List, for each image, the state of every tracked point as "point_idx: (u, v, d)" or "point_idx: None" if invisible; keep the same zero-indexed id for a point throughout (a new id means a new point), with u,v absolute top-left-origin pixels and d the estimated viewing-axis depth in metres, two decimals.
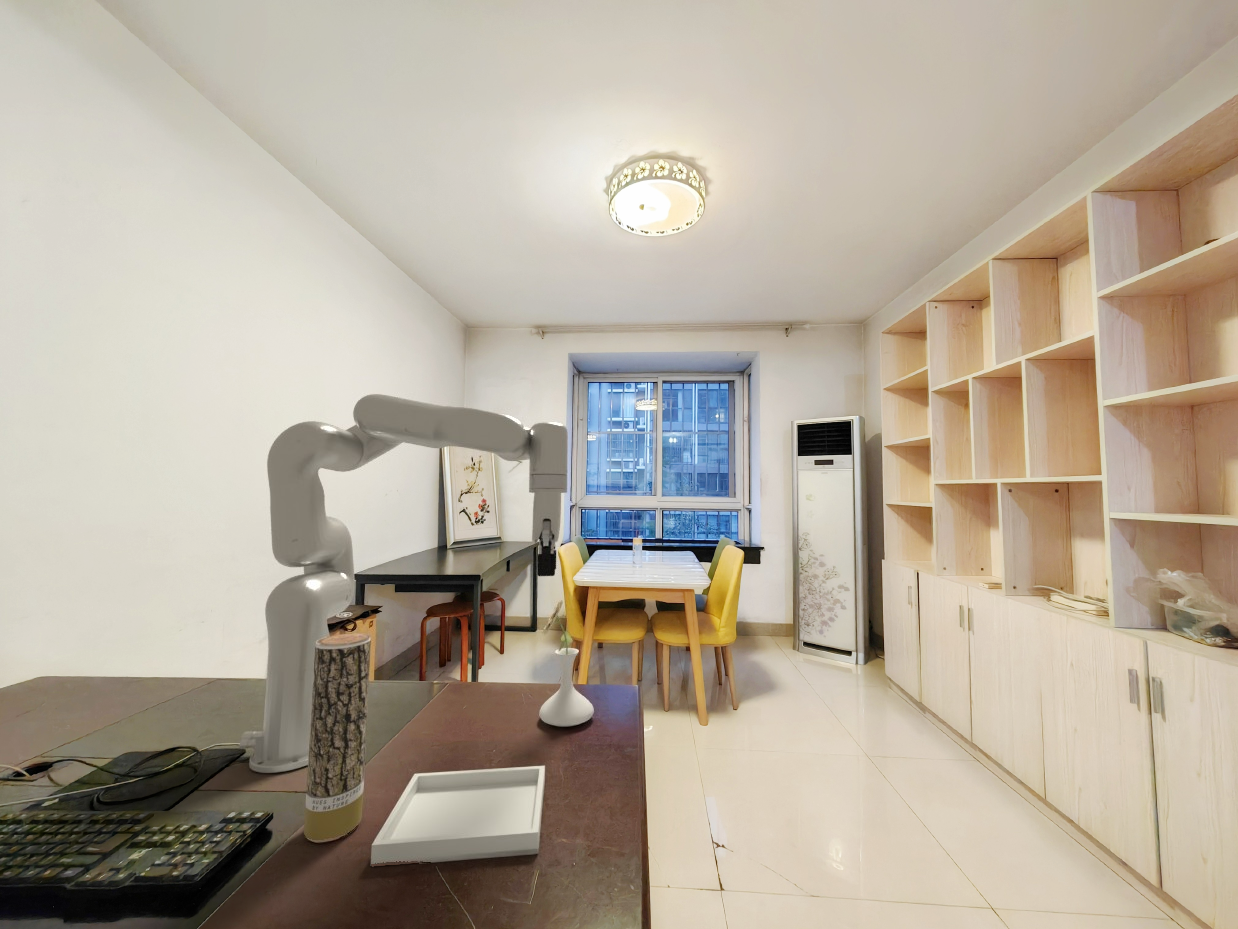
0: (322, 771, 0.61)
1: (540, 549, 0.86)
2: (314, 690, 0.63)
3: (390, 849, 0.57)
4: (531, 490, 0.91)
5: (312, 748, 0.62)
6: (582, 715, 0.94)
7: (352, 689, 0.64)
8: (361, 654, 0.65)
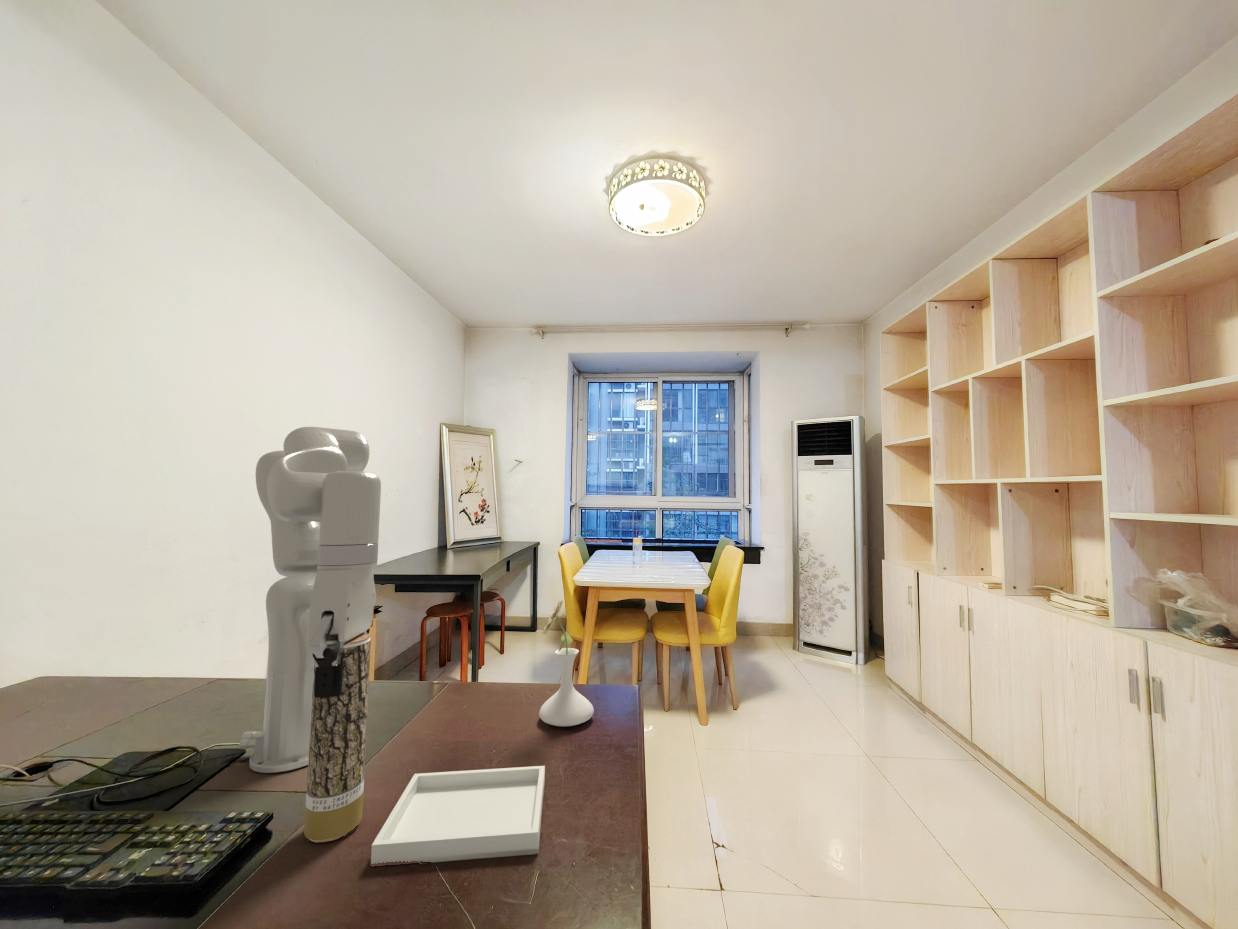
0: (322, 771, 0.61)
1: None
2: None
3: (390, 849, 0.57)
4: (317, 567, 0.65)
5: (312, 748, 0.62)
6: (582, 715, 0.94)
7: (352, 689, 0.64)
8: (361, 654, 0.65)
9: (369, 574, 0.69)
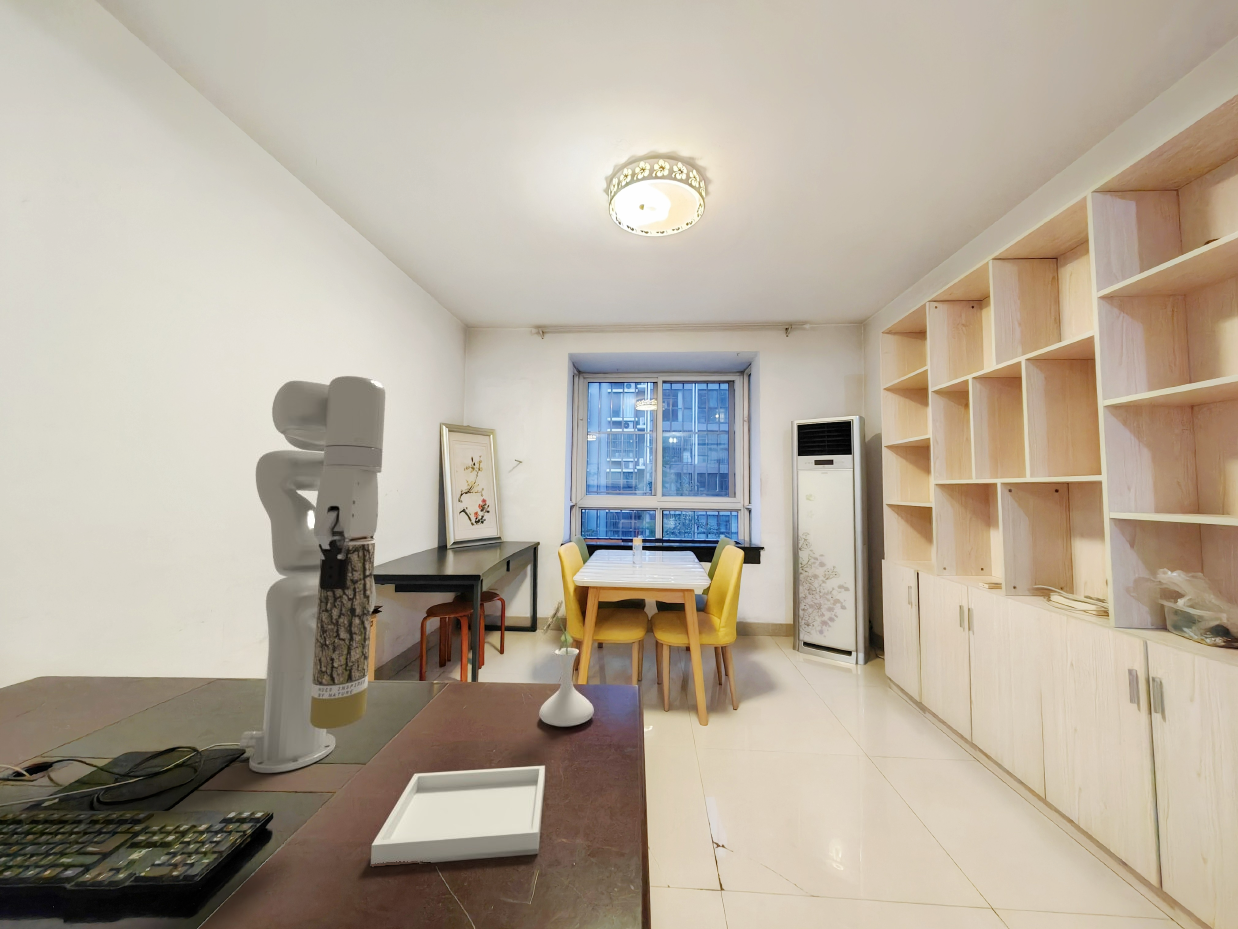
0: (328, 660, 0.63)
1: None
2: None
3: (390, 849, 0.57)
4: (323, 468, 0.67)
5: (318, 639, 0.64)
6: (582, 715, 0.94)
7: (357, 585, 0.66)
8: (365, 553, 0.67)
9: (373, 480, 0.71)
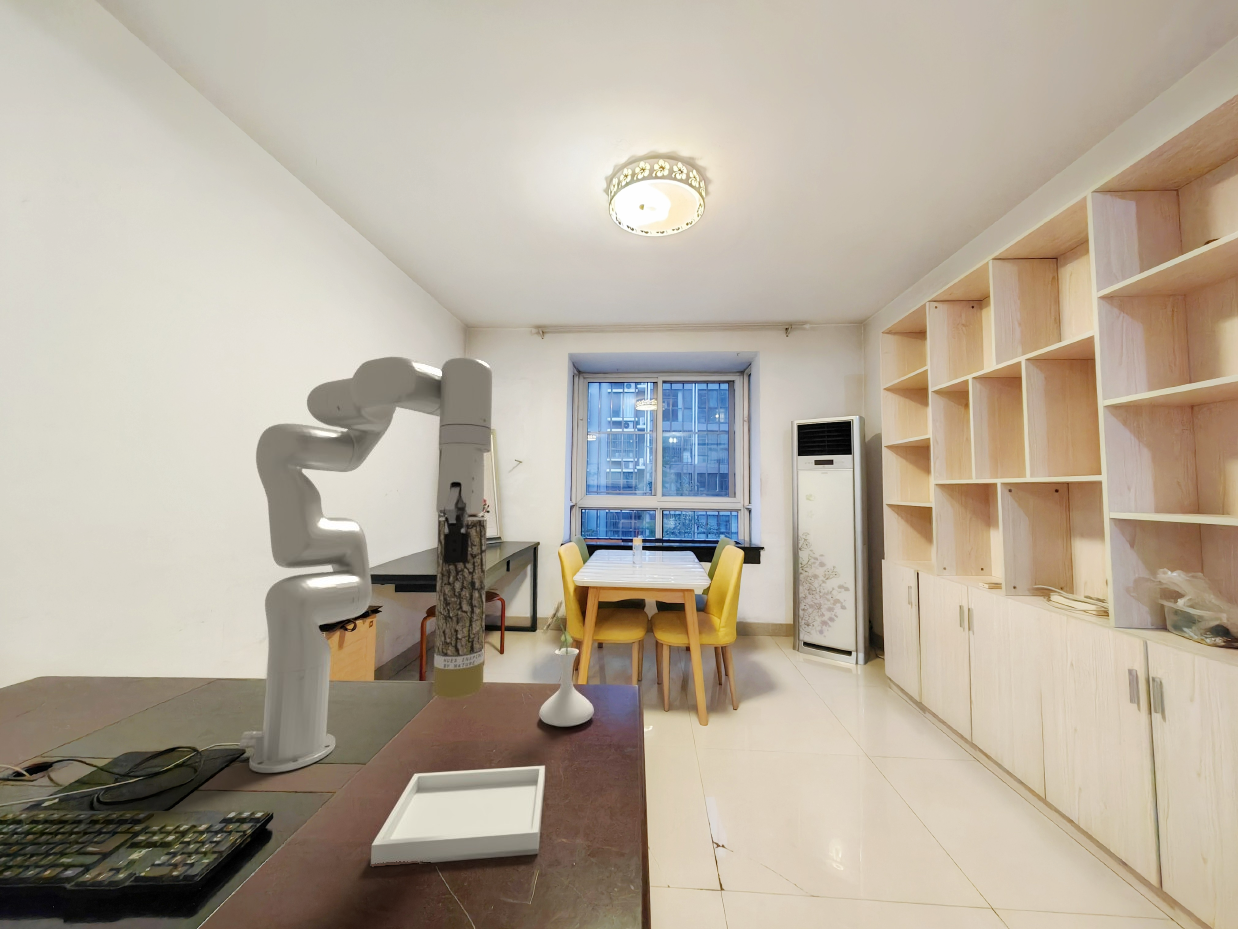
0: (452, 632, 0.65)
1: (447, 527, 0.65)
2: (441, 559, 0.67)
3: (390, 849, 0.57)
4: (440, 446, 0.69)
5: (441, 612, 0.66)
6: (582, 715, 0.94)
7: (476, 560, 0.67)
8: (481, 529, 0.69)
9: (483, 459, 0.73)
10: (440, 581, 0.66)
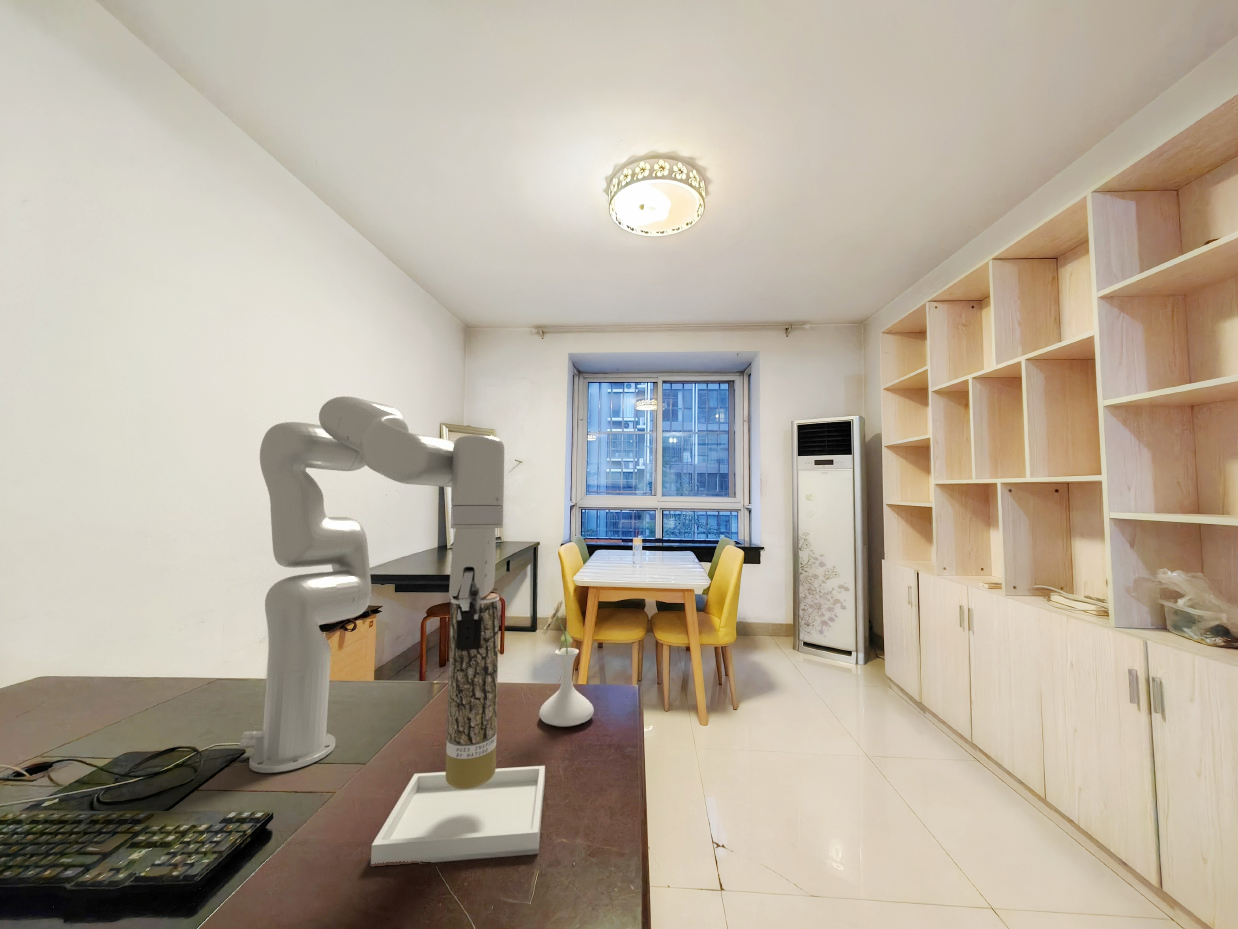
0: (465, 720, 0.64)
1: (460, 614, 0.64)
2: (453, 644, 0.66)
3: (390, 849, 0.57)
4: (452, 526, 0.68)
5: (454, 699, 0.65)
6: (582, 715, 0.94)
7: (489, 643, 0.66)
8: (494, 610, 0.68)
9: None
10: (452, 666, 0.65)
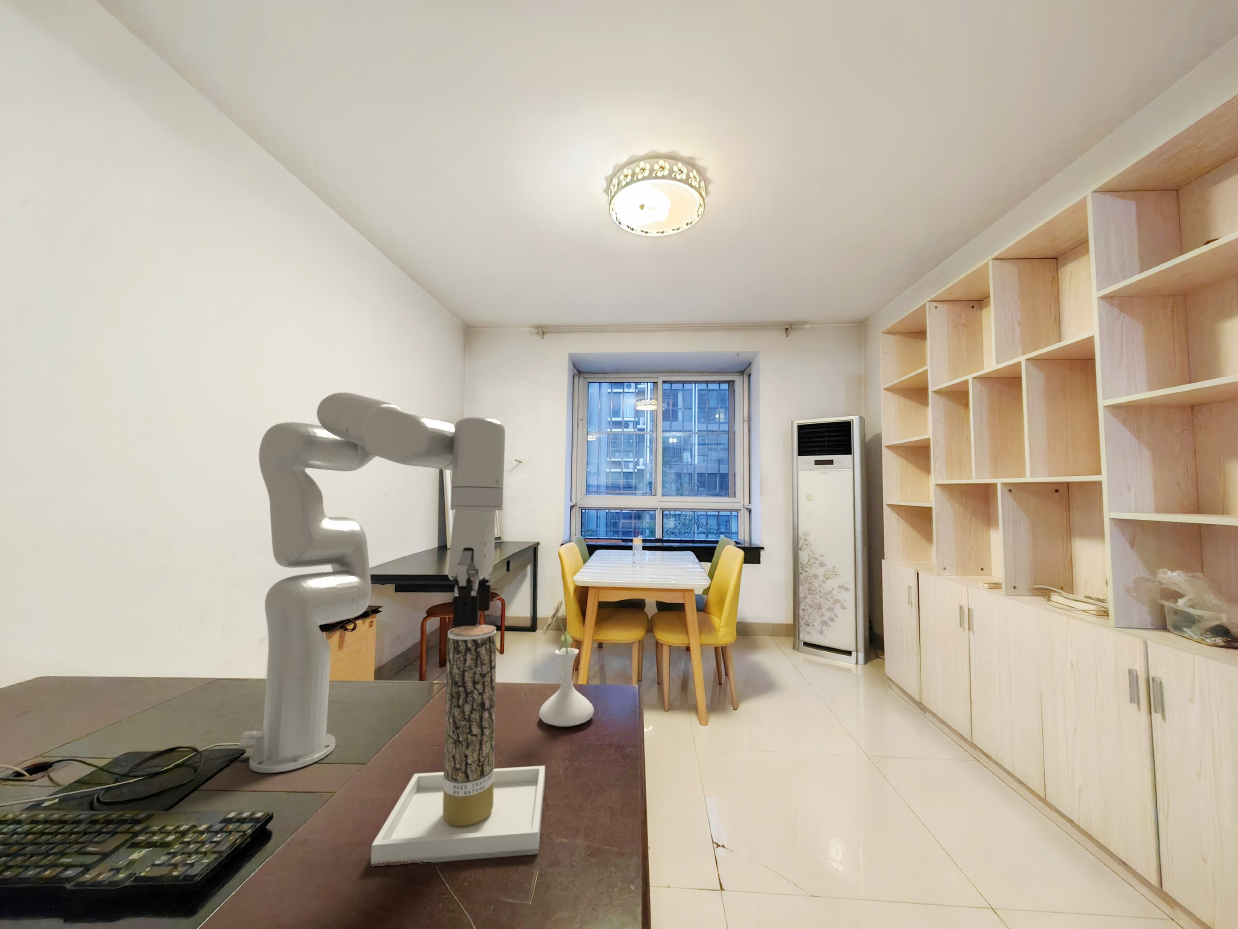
0: (462, 757, 0.64)
1: (457, 590, 0.63)
2: (450, 679, 0.65)
3: (390, 849, 0.57)
4: (452, 508, 0.68)
5: (450, 735, 0.64)
6: (582, 715, 0.94)
7: (486, 679, 0.66)
8: (491, 645, 0.67)
9: (494, 518, 0.72)
10: (449, 702, 0.65)
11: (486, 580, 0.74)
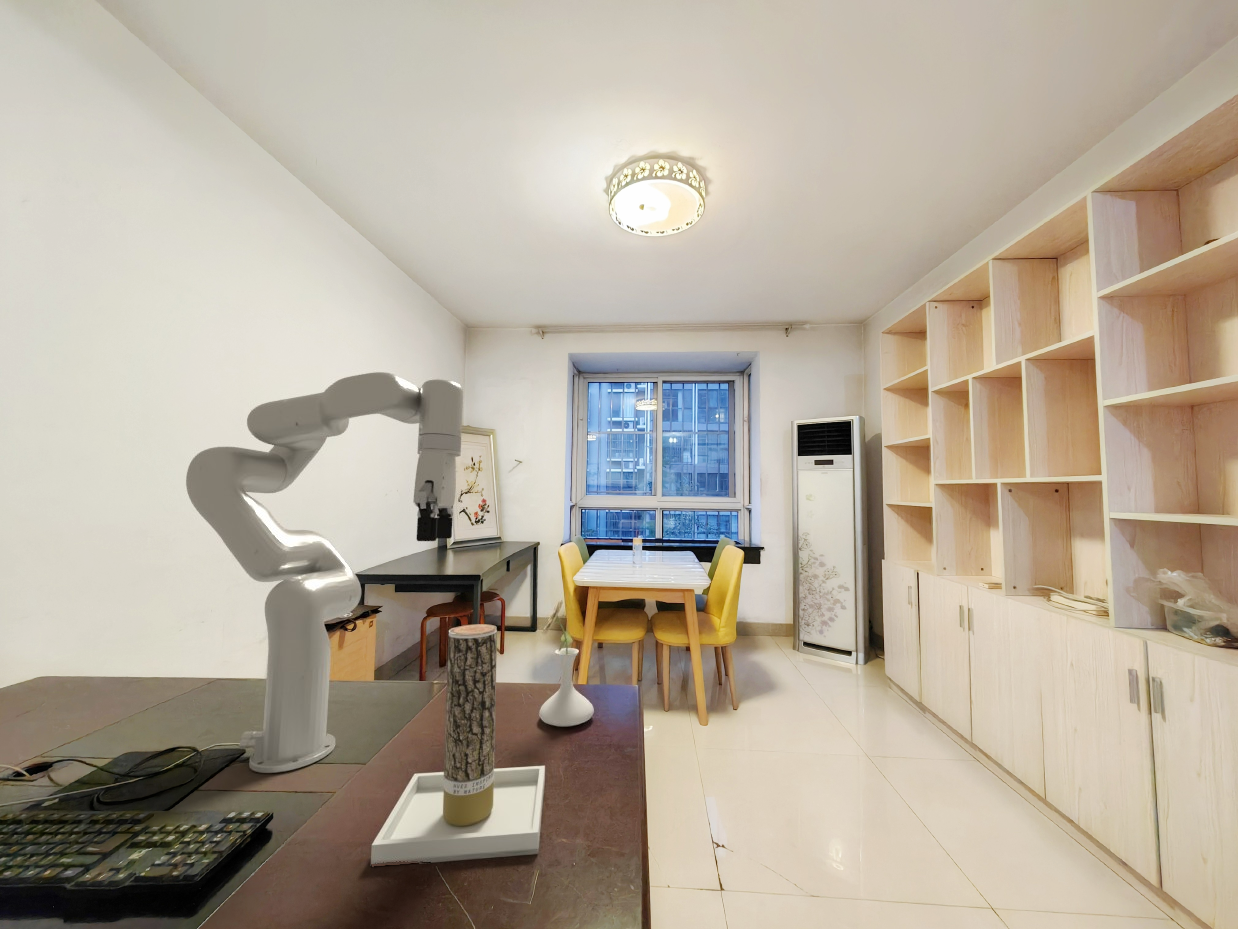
0: (462, 756, 0.64)
1: (419, 512, 0.80)
2: (451, 678, 0.66)
3: (390, 849, 0.57)
4: (418, 451, 0.85)
5: (451, 734, 0.64)
6: (582, 715, 0.94)
7: (486, 678, 0.66)
8: (492, 644, 0.68)
9: (454, 462, 0.89)
10: (450, 701, 0.65)
11: (449, 514, 0.91)
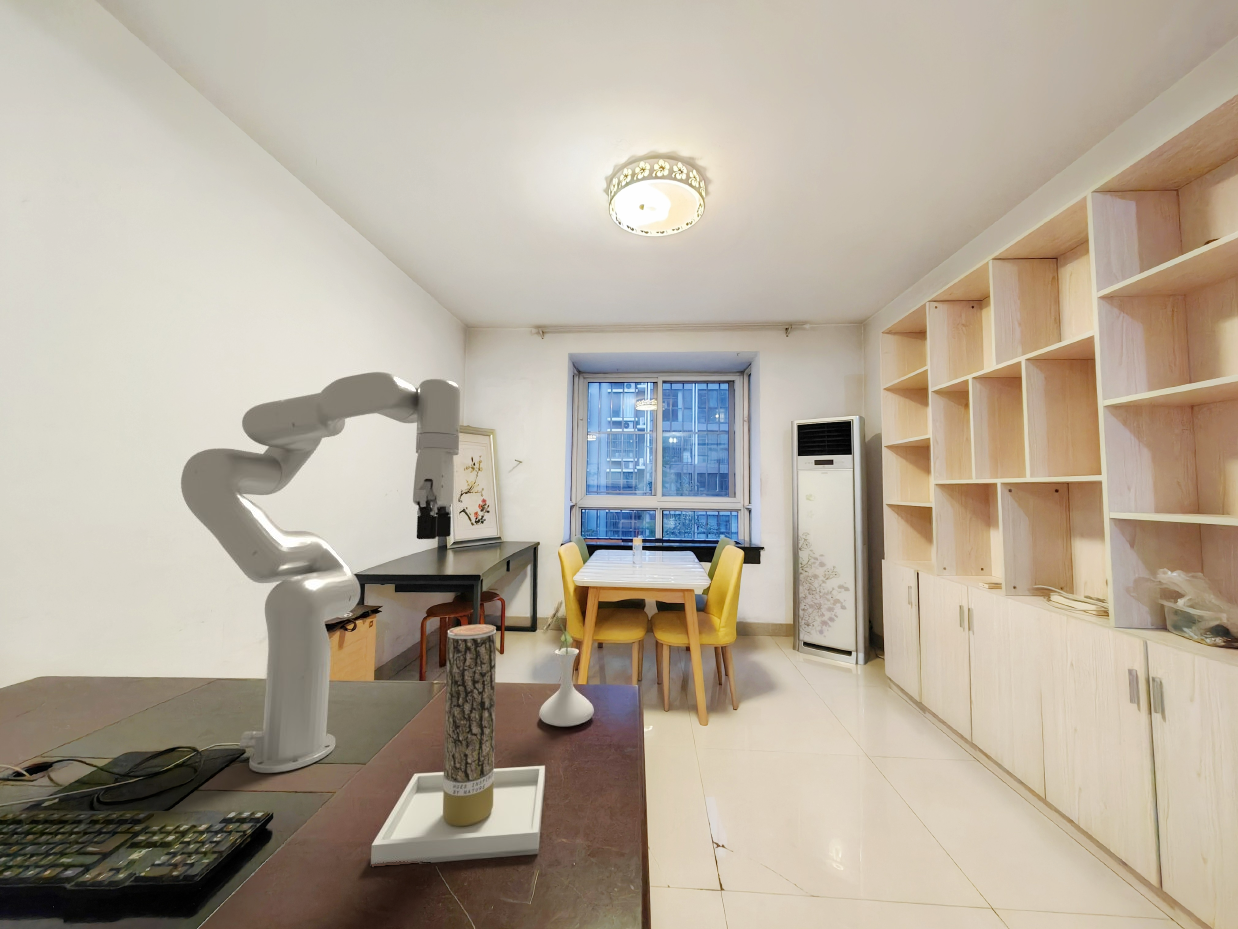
0: (461, 756, 0.64)
1: (419, 510, 0.81)
2: (450, 678, 0.65)
3: (390, 849, 0.57)
4: (416, 450, 0.86)
5: (450, 735, 0.64)
6: (582, 715, 0.94)
7: (485, 678, 0.66)
8: (491, 644, 0.67)
9: (452, 461, 0.90)
10: (449, 702, 0.65)
11: (447, 512, 0.92)
